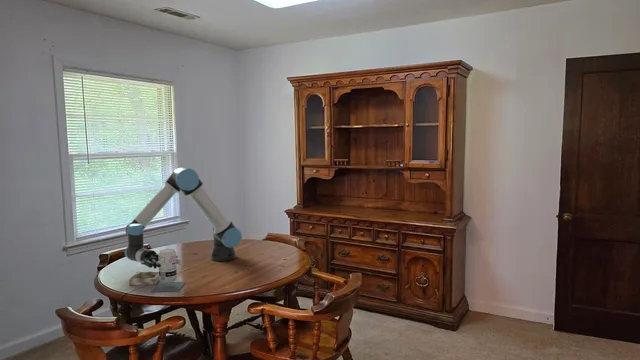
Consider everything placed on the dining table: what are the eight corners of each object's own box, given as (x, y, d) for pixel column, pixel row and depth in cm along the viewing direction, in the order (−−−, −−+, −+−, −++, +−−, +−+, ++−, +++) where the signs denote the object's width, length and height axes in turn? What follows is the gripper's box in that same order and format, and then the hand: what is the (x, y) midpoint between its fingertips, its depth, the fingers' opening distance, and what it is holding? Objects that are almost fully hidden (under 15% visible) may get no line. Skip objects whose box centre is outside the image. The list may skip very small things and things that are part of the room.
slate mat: (185, 282, 215) (185, 281, 215) (178, 291, 202) (178, 290, 202) (159, 283, 214) (159, 282, 214) (151, 292, 201) (150, 291, 201)
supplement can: (161, 278, 212) (161, 248, 210) (178, 277, 212) (178, 248, 211) (157, 283, 204) (156, 253, 202) (174, 283, 204) (173, 252, 203)
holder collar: (163, 276, 225) (163, 270, 225) (156, 284, 212) (155, 278, 212) (138, 276, 224) (138, 271, 224) (129, 285, 211) (129, 279, 211)
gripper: (164, 259, 226) (191, 266, 213) (127, 268, 209) (154, 277, 196) (164, 245, 226) (191, 252, 213) (127, 253, 209) (153, 261, 196)
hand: (173, 264), depth 204 cm, fingers closed on supplement can, 8 cm apart
